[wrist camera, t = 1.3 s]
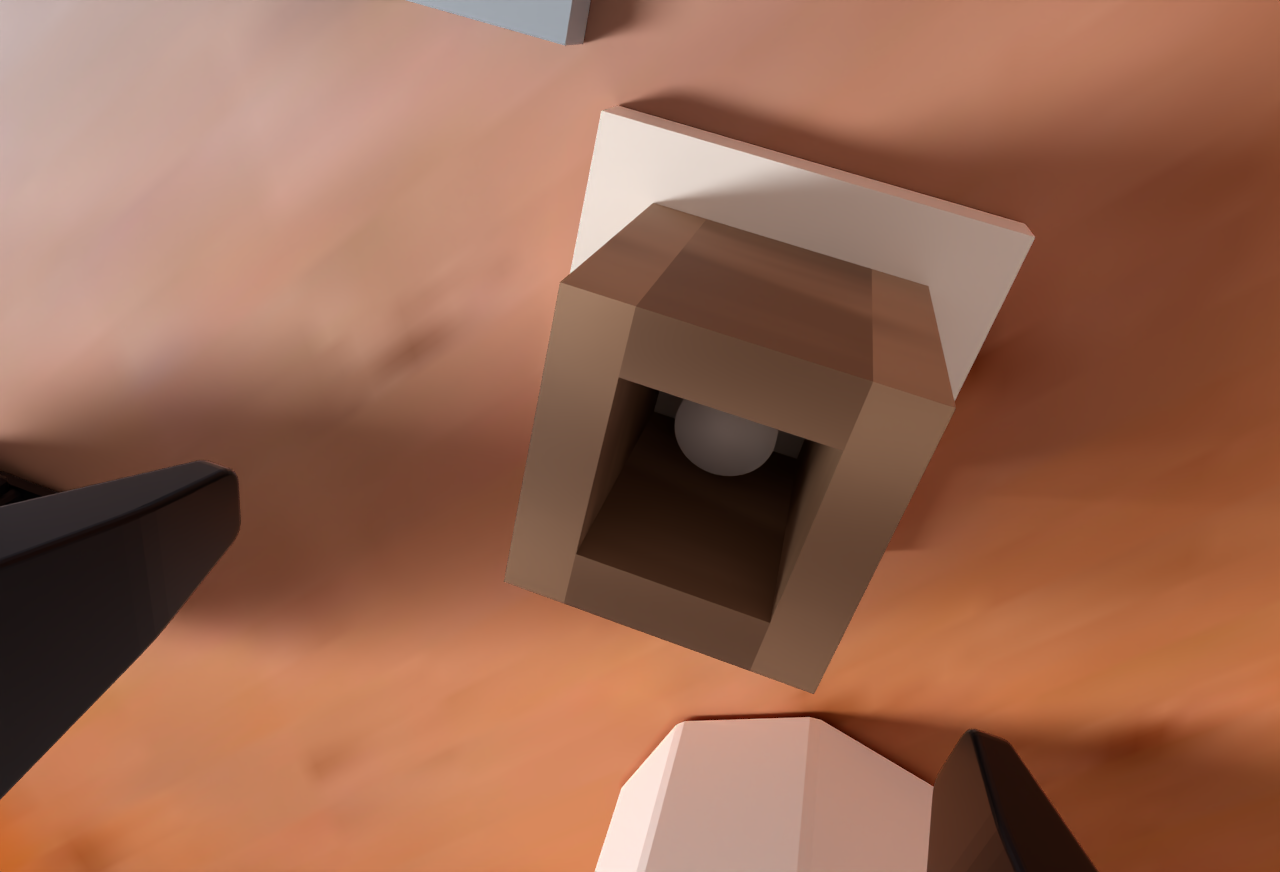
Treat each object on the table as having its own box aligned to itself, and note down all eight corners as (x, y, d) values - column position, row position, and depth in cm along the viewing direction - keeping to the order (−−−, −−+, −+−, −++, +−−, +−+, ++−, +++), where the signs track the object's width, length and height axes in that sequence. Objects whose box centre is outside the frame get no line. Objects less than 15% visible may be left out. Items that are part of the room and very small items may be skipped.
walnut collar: (828, 514, 19) (814, 694, 14) (597, 437, 20) (503, 581, 15) (928, 285, 16) (955, 407, 11) (653, 202, 17) (559, 281, 12)
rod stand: (865, 554, 21) (865, 671, 17) (548, 445, 22) (482, 534, 18) (1025, 223, 17) (1071, 284, 13) (617, 105, 18) (548, 128, 14)
